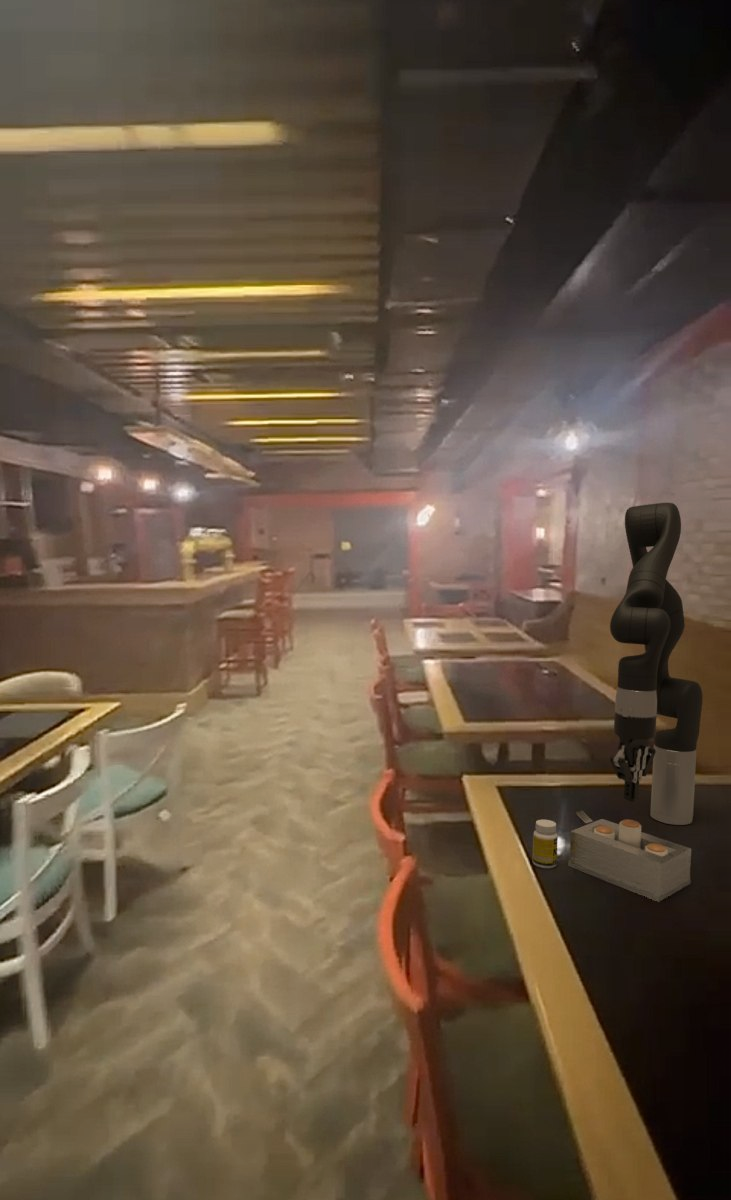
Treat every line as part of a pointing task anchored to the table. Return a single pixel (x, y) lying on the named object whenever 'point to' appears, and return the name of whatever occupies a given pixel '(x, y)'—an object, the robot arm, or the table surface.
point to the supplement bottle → (545, 844)
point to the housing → (630, 862)
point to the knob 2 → (630, 832)
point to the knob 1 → (605, 831)
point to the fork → (585, 817)
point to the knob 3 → (656, 849)
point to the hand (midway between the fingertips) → (630, 799)
